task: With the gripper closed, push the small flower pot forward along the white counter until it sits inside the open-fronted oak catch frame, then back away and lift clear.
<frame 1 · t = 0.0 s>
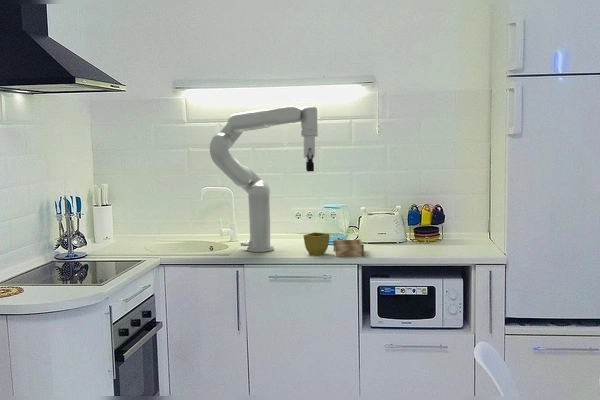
hand: (310, 170, 302), 37 cm above the countertop, tool pointing down, fingers open, 9 cm apart
flower pot: (316, 254, 292), on the countertop
catch frame: (348, 253, 293), on the countertop
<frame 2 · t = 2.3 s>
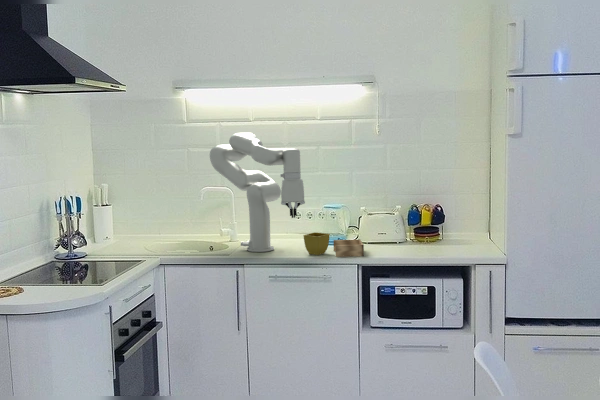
hand: (293, 217, 290), 17 cm above the countertop, tool pointing down, fingers closed
nothing on the countertop moved.
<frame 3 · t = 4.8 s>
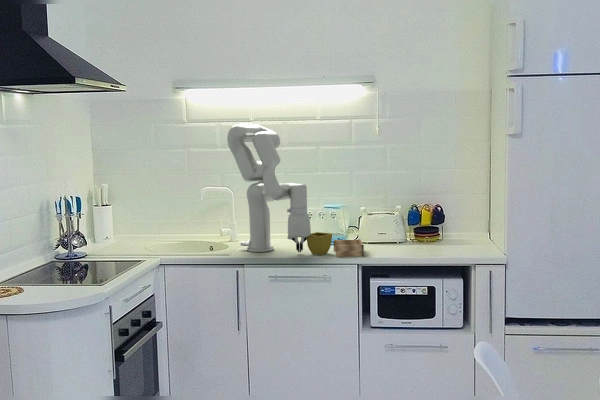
hand: (299, 251, 292), 1 cm above the countertop, tool pointing down, fingers closed
flower pot: (319, 254, 293), on the countertop, touching gripper
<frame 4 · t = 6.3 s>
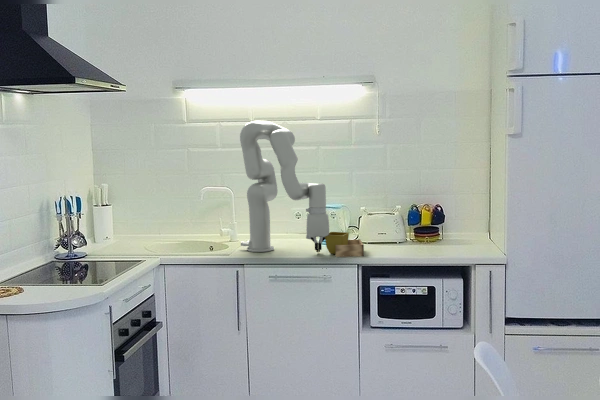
hand: (318, 251, 292), 1 cm above the countertop, tool pointing down, fingers closed
flower pot: (337, 253, 293), on the countertop, touching gripper
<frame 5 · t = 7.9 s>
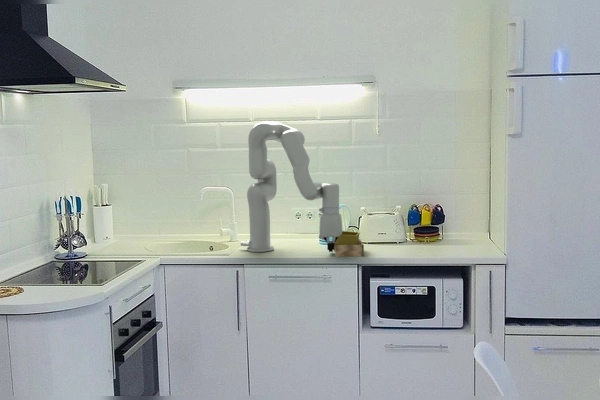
hand: (330, 251, 293), 1 cm above the countertop, tool pointing down, fingers closed
flower pot: (347, 253, 293), on the countertop, touching gripper
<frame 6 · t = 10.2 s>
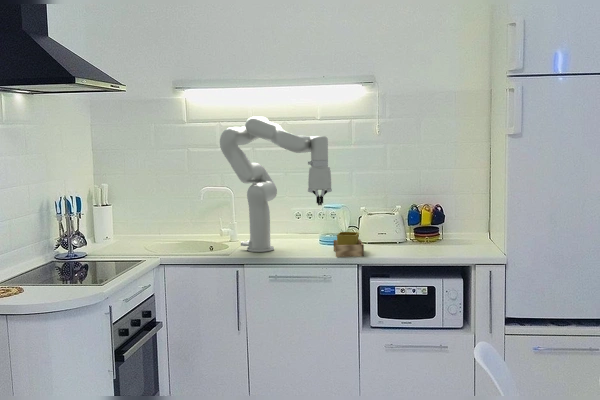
hand: (319, 205, 291), 22 cm above the countertop, tool pointing down, fingers closed
flower pot: (348, 253, 293), on the countertop
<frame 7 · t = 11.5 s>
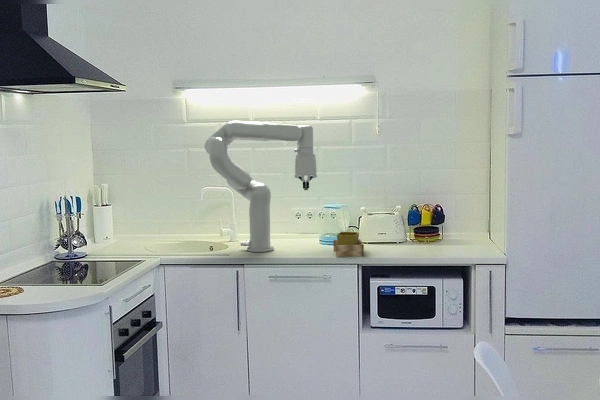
hand: (306, 190, 310), 27 cm above the countertop, tool pointing down, fingers closed
nothing on the countertop moved.
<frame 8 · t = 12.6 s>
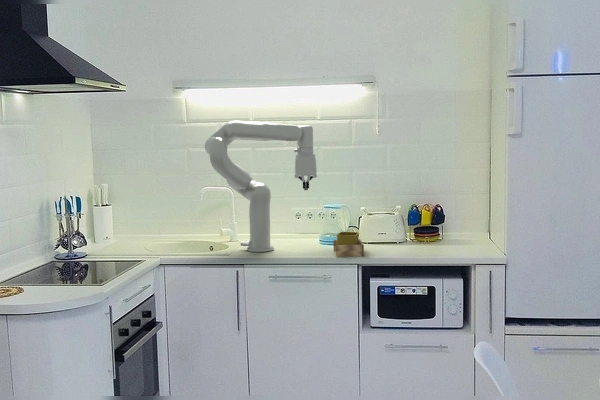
hand: (306, 190, 310), 27 cm above the countertop, tool pointing down, fingers closed
nothing on the countertop moved.
at the end: flower pot inside the target area on the catch frame (0.9 cm from its centre), point 0.0 cm above the catch frame's base; flower pot tilted 0°; flower pot touching countertop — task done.
